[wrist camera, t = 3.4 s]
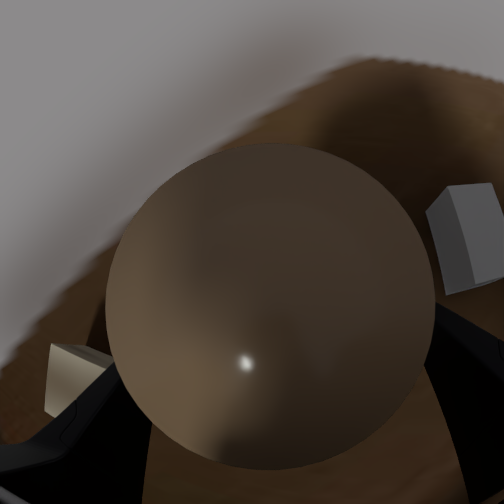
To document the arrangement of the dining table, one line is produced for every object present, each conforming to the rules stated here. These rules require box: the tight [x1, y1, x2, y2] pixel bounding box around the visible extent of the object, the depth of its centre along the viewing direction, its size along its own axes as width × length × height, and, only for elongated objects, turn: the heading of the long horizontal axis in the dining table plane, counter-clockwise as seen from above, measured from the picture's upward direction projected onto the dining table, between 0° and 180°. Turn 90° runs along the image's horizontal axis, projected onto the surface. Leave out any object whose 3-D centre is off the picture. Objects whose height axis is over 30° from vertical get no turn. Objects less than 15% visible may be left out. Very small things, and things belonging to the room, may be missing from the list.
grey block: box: [425, 183, 504, 295], centre depth 16 cm, size 6×4×4 cm, turn 6°
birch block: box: [45, 344, 114, 418], centre depth 16 cm, size 5×5×4 cm
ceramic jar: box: [105, 143, 435, 470], centre depth 11 cm, size 5×5×14 cm
